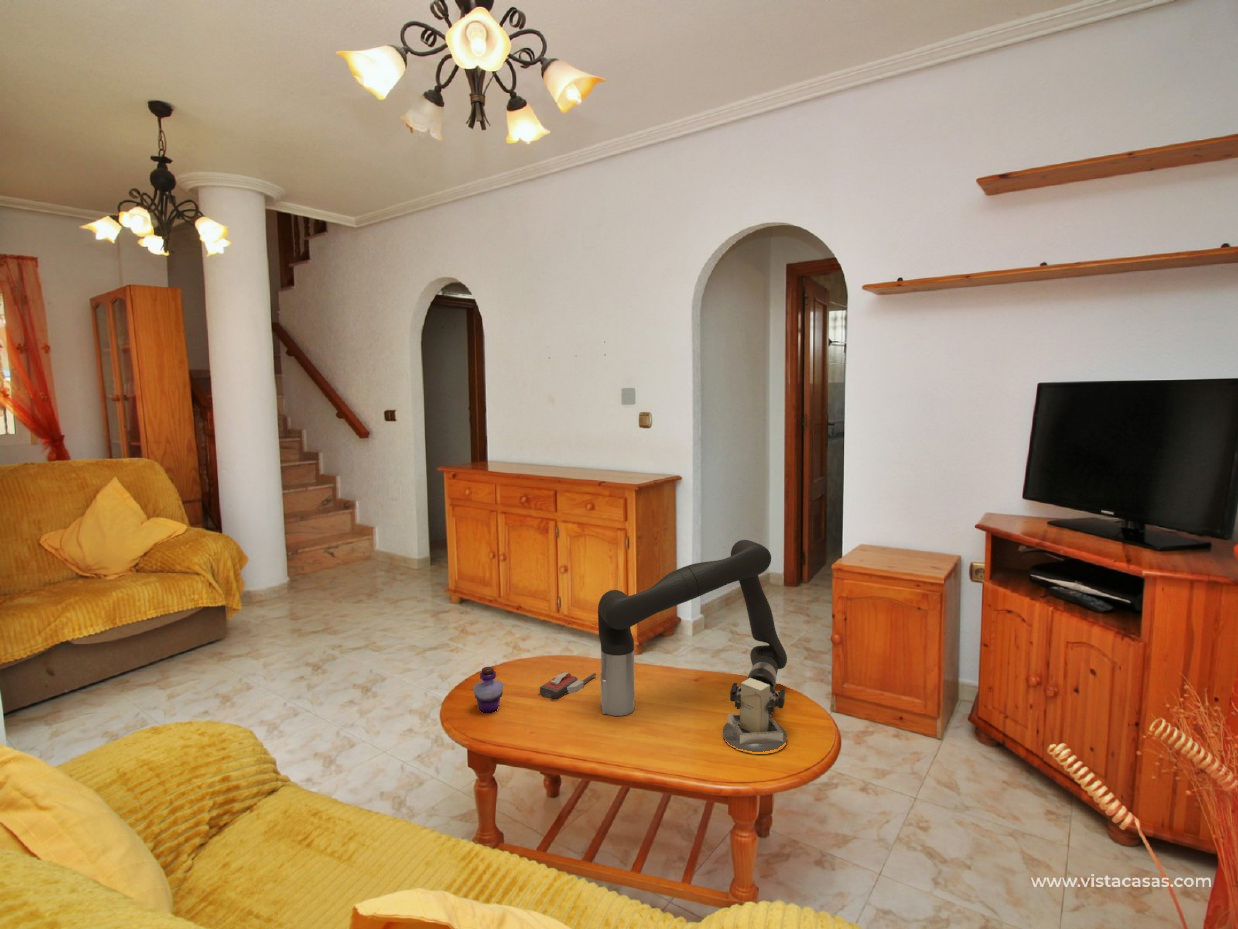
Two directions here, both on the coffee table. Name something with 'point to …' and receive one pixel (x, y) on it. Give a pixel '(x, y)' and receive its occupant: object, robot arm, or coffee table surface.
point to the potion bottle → (488, 691)
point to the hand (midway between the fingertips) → (753, 708)
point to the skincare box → (754, 705)
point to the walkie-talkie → (562, 685)
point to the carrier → (753, 735)
